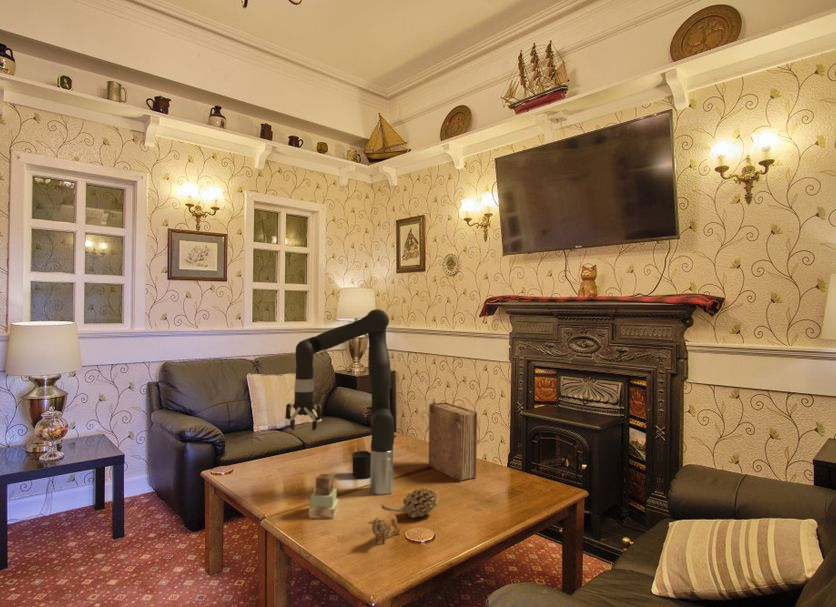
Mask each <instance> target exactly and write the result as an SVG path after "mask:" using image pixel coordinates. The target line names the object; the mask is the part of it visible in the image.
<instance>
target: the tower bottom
mask: <svg viewBox="0 0 836 607" xmlns="http://www.w3.org/2000/svg"><path fill="white" fill-rule="evenodd" d="M339 502H340V499H339V498H336V501H335V503H334V505H333V508H325V507H310V506H309V507H308V518H309V517H314V518H313V519H326V518H332V520H334V519H335V517H336V514H338V513H337V512H338V511H339V509H340V506H339V505H340V503H339Z"/></svg>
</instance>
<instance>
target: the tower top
mask: <svg viewBox="0 0 836 607" xmlns="http://www.w3.org/2000/svg"><path fill="white" fill-rule="evenodd" d="M337 490H338V488H333V491H332V492H331V493H330V495H329V496H328V495H315V493H316V487H315V488H314V490H313V492H312V493H311V494H310V502H309V503H310V504H309V505H310V506H309V507H325V508H333V505H334V503H335V501H336V499H337Z"/></svg>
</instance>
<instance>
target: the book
mask: <svg viewBox="0 0 836 607" xmlns="http://www.w3.org/2000/svg"><path fill="white" fill-rule="evenodd" d="M428 408H429V412H428V413H429V415H428V416H429V417H428V467H429V466H430V468H431V469H434V470H435V471H437V470H438V471H437V472H439V471H440V472H439V473H441V472H442V473H441V474H443V473H444V474H443V475H445V474H446V475H445V476H447V475H448V476H447V477H449V476H450V477H449V478H451V477H452V478H451V479H453V478H454V479H456V480H458V481H460V482H459V483H461V482H462V481H464V480H465V481H466V480H469V479H475V478H476V479H477V458H478V457H477V456H478V454H477V453H478V451H477V448H478V443H477V442H478V412H477V411H476V410H472V409H469V408H466V407H462V406H459V405H455V404H451V403H449V402H439V403H431V404H429V407H428ZM474 477H475V478H474ZM454 479H453V480H454ZM456 480H455V481H456ZM458 481H457V482H458Z"/></svg>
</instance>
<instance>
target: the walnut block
mask: <svg viewBox="0 0 836 607" xmlns="http://www.w3.org/2000/svg"><path fill="white" fill-rule="evenodd" d="M315 488H316V493H315V495H328V496H329V495H330V493H331V492H332V491H333V489H334V474H333V473H332V474H331V473H329V474H328V473H319V475H317V476H316V477H315Z"/></svg>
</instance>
